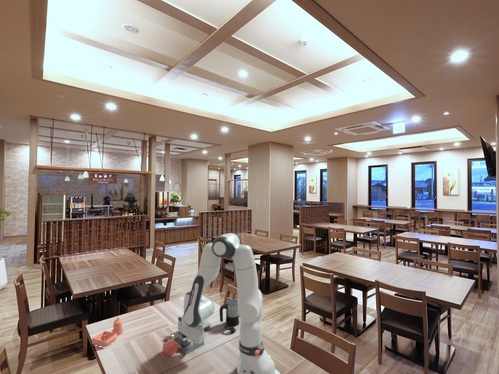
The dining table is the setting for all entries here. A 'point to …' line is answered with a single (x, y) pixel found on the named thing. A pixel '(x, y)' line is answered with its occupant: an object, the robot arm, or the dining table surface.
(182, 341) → the block
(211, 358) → the dining table surface
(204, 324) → the electrical switch
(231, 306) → the milk frother
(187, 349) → the panel
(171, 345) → the lockout cap
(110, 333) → the pottery
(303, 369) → the dining table surface
